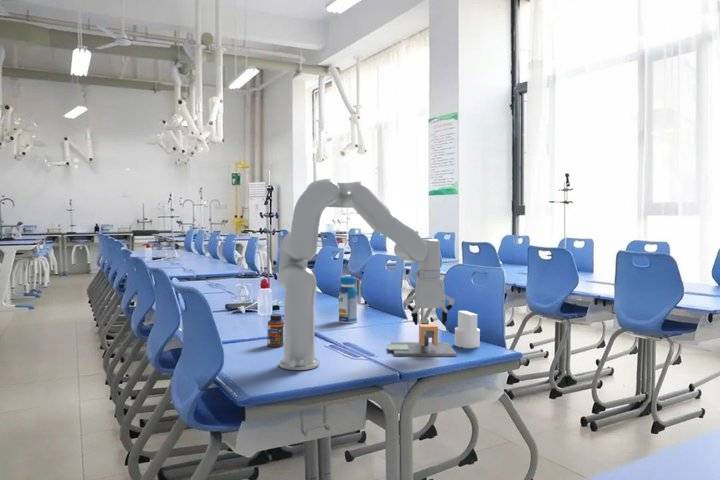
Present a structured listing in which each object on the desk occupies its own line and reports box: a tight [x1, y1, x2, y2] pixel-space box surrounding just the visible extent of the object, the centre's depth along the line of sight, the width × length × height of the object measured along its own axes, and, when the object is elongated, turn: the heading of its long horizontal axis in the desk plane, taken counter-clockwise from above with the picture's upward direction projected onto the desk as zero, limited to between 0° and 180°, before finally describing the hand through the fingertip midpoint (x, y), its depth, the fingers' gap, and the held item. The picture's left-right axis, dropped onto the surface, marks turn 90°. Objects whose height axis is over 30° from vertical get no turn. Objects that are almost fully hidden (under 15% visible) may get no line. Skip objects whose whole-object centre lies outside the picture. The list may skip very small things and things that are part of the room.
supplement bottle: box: [266, 313, 284, 348], centre depth 200 cm, size 6×6×11 cm
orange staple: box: [418, 323, 439, 346], centre depth 191 cm, size 4×6×7 cm, turn 91°
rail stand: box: [387, 321, 457, 357], centre depth 194 cm, size 16×22×9 cm
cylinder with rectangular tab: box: [454, 310, 481, 349], centre depth 202 cm, size 9×9×12 cm
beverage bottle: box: [337, 275, 358, 324], centre depth 244 cm, size 8×8×20 cm
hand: (429, 323), depth 191 cm, fingers open, 9 cm apart
